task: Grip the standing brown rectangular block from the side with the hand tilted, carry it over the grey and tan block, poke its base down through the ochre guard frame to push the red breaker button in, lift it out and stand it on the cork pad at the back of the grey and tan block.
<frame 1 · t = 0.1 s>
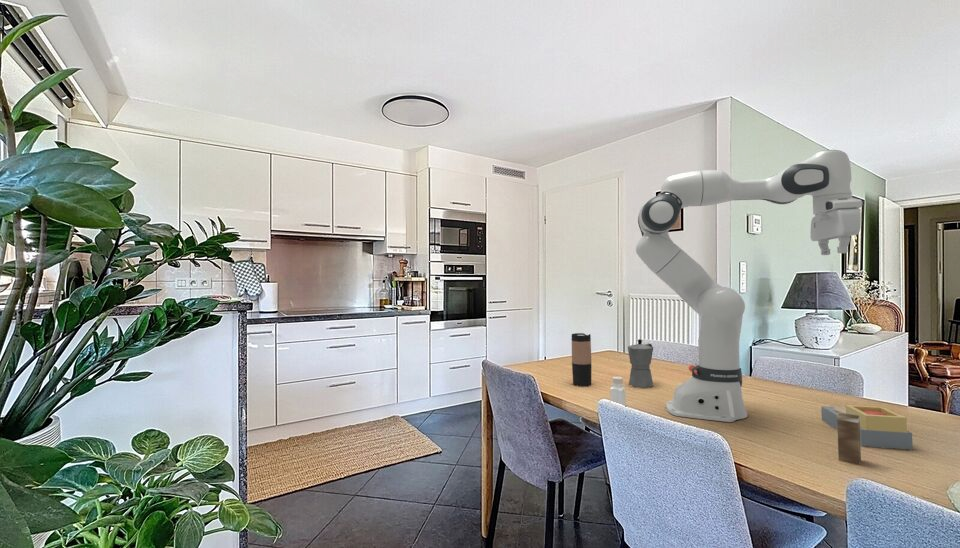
hand: (833, 254, 123), 48 cm above the table, tool pointing down, fingers open, 8 cm apart
coffeepot: (642, 385, 167), on the table
brown rectangular block: (849, 460, 96), on the table
breaker button: (874, 423, 107), point 5 cm above the table, slide at 0.0 cm
travel mug: (582, 384, 170), on the table
salt shaker: (618, 407, 140), on the table
grey and tan block: (862, 433, 112), on the table
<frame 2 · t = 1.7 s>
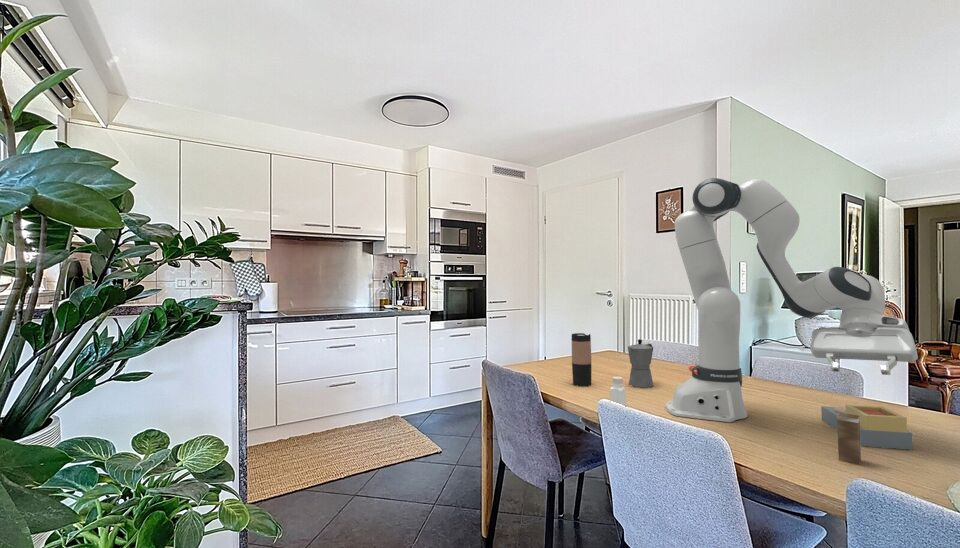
hand: (859, 371, 105), 18 cm above the table, tool tilted 45°, fingers open, 8 cm apart
nothing on the table moved.
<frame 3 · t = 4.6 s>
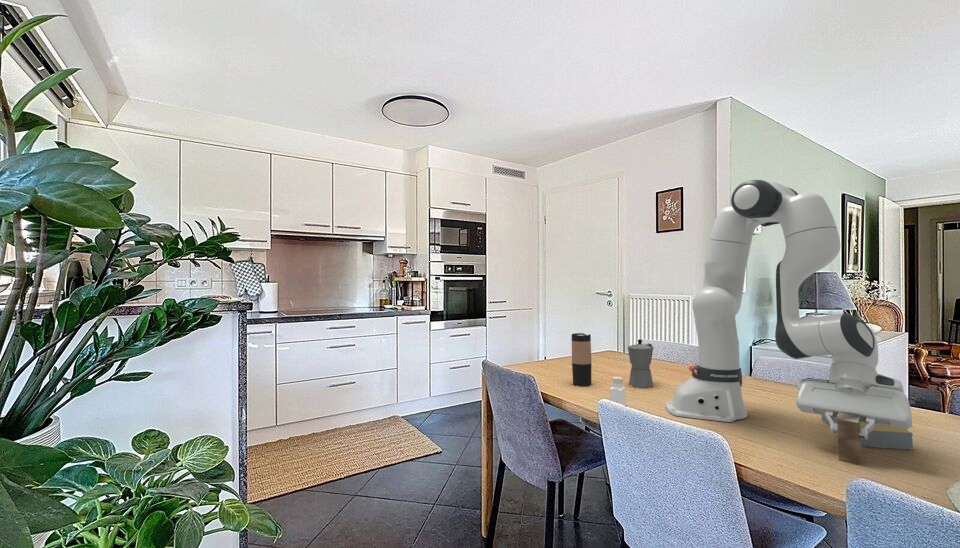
hand: (848, 434, 96), 6 cm above the table, tool tilted 45°, fingers closed on brown rectangular block, 3 cm apart
brown rectangular block: (849, 460, 96), on the table, touching gripper
everything else where it was.
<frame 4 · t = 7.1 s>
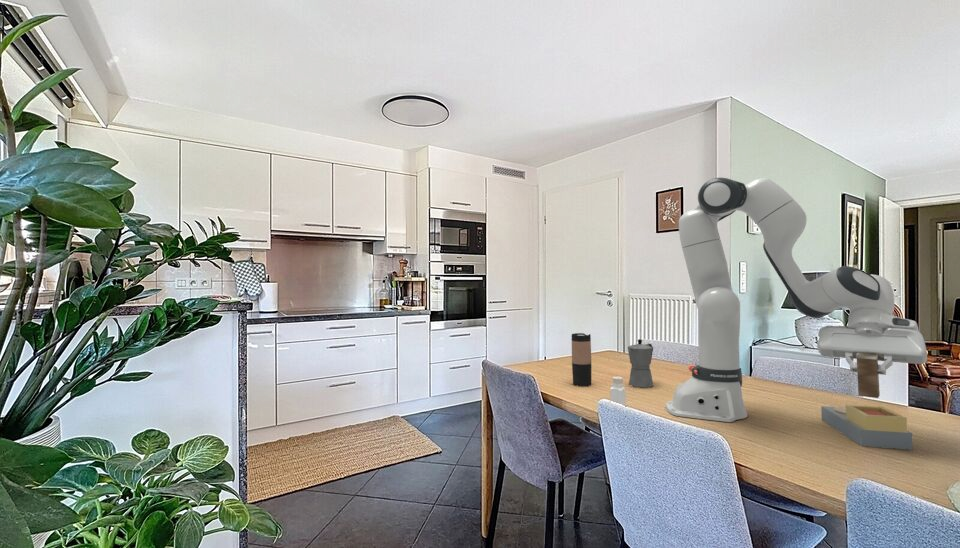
hand: (867, 371, 103), 18 cm above the table, tool tilted 45°, fingers closed on brown rectangular block, 3 cm apart
brown rectangular block: (869, 395, 104), point 12 cm above the table, touching gripper
everything else where it was.
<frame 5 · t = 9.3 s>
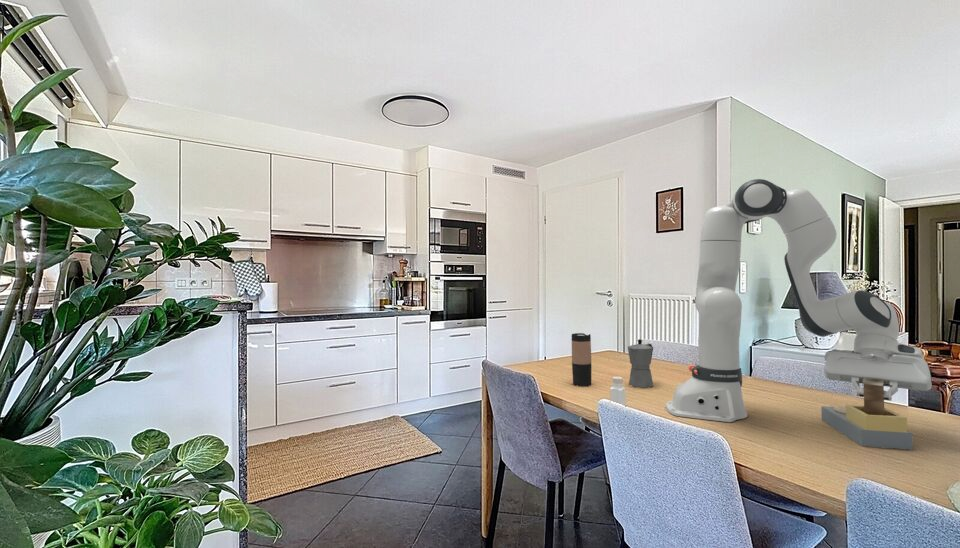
hand: (873, 397, 106), 11 cm above the table, tool tilted 45°, fingers closed on brown rectangular block, 3 cm apart
brown rectangular block: (874, 420, 107), point 5 cm above the table, touching breaker button, gripper
breaker button: (875, 430, 106), point 3 cm above the table, slide at 1.8 cm, touching brown rectangular block
everything else where it was.
when the fingers open (11 cm above the table, at t = 12.6 s): brown rectangular block stays where it is, resting on grey and tan block.
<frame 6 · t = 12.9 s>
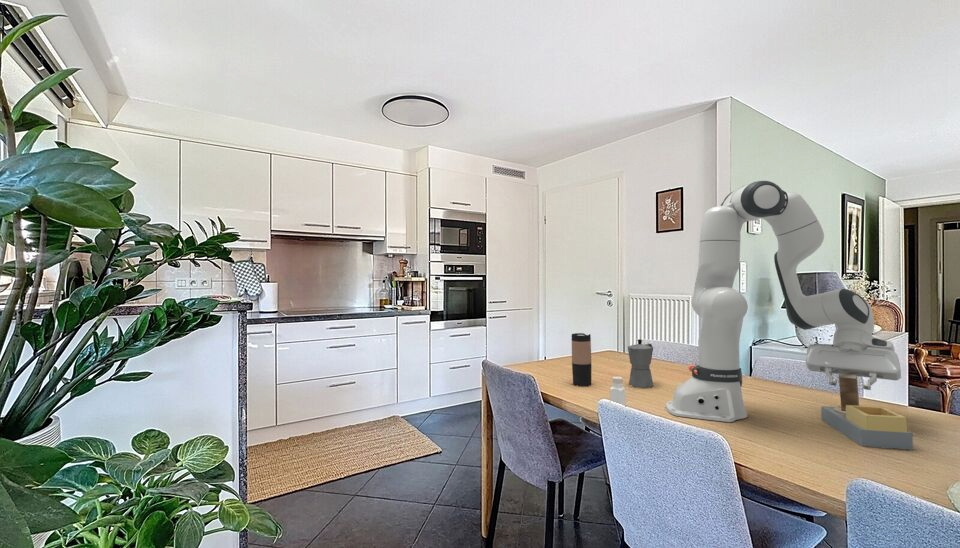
hand: (849, 386, 117), 11 cm above the table, tool tilted 45°, fingers open, 6 cm apart
brown rectangular block: (850, 410, 117), point 4 cm above the table, touching grey and tan block
breaker button: (875, 430, 106), point 3 cm above the table, slide at 1.8 cm
everything else where it was.
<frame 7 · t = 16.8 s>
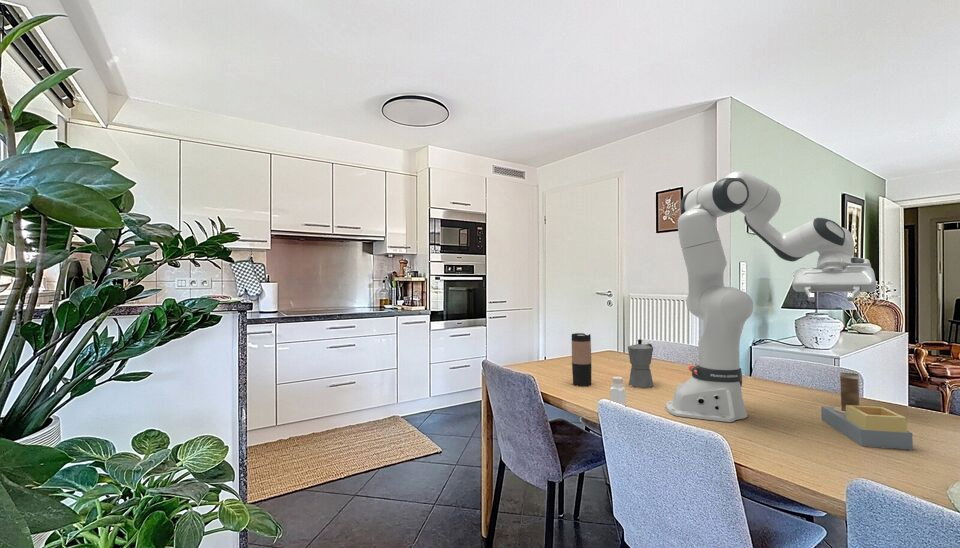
hand: (830, 299, 130), 34 cm above the table, tool tilted 45°, fingers open, 8 cm apart
nothing on the table moved.
at the end: breaker button slide at 1.8 cm; brown rectangular block inside the target area on the grey and tan block (0.0 cm from its centre), point 4.4 cm above the grey and tan block's base; brown rectangular block tilted 0° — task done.
